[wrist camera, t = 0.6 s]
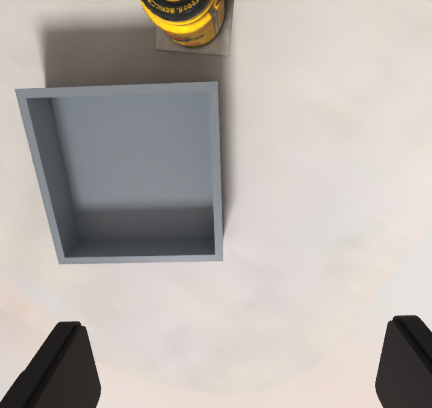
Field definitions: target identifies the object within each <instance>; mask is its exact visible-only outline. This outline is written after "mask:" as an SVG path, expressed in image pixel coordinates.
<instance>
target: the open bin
mask: <svg viewBox="0 0 432 408" xmlns="http://www.w3.org/2000/svg"><path fill="white" fill-rule="evenodd" d="M15 92H16V96H17V100H18V104H19V108H20V112H21V116H22V120H23V124H24V128H25V132H26V136H27V139H28V143H29V147H30V151H31V155H32V159H33V163H34V167H35V171H36V175H37V179H38V183H39V187H40V191H41V195H42V199H43V203H44V207H45V210H46V214H47V218H48V222H49V226H50V230H51V234H52V238H53V242H54V246H55V250H56V254H57V258H58V262H59V264H96V263H149V262H203V261H223V223H222V190H221V157H220V124H219V91H218V81H213V82H187V83H161V84H135V85H108V86H82V87H56V88H30V89H15Z"/></svg>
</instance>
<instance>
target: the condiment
mask: <svg viewBox="0 0 432 408" xmlns="http://www.w3.org/2000/svg"><path fill="white" fill-rule="evenodd" d="M140 1H141V4H142V6H143V8H144V10H145V12H146V13H147V15H148V16H149V18H150V19H151V20H152V21H153V22H154V23H155V24H156V47H155V50H167V51H177V52H189V53H201V54H214V55H225V56H229V48H230V37H231V25H232V14H233V2H234V0H140Z"/></svg>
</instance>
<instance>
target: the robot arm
mask: <svg viewBox="0 0 432 408" xmlns="http://www.w3.org/2000/svg"><path fill="white" fill-rule="evenodd" d="M375 388H376V393H377V395H378V398H379V400H380V402H381V404H382V406H383V408H432V332H431V331H430V330H429V328H428V327H427V326H426V325H425V324H424V322H423V321H421V319H420V318H419V317H418V316H415V315H407V316H394V317H393V320H392V321H389V322H388V324H387V329H386V334H385V338H384V343H383V348H382V353H381V358H380V363H379V368H378V373H377V377H376V382H375ZM100 394H101V385H100V381H99V377H98V373H97V369H96V365H95V361H94V357H93V353H92V349H91V345H90V341H89V337H88V334H87V330H86V327H85V326H81V323H80V322H78V321H72V322H59V323H58V324H57V325H56V326H55V327H54V329H53V330H52V332H51V333H50V334H49V336H48V337H47V339H46V340H45V342H44V343H43V345H42V346H41V347H40V349H39V350H38V352H37V353H36V355H35V356H34V358H33V359H32V360H31V362H30V363H29V365H28V366H27V367H26V369H25V370H24V371H23V372H22V373H21V374H20V375H19V376H18V378H17V379H16V381H15V382H14V383H13V385H12V386H11V388H10V389H9V390H8V392H7V393H6V395H5V396H4V398H3V399H2V401H1V402H0V408H96V406H97V404H98V401H99V398H100Z"/></svg>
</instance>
